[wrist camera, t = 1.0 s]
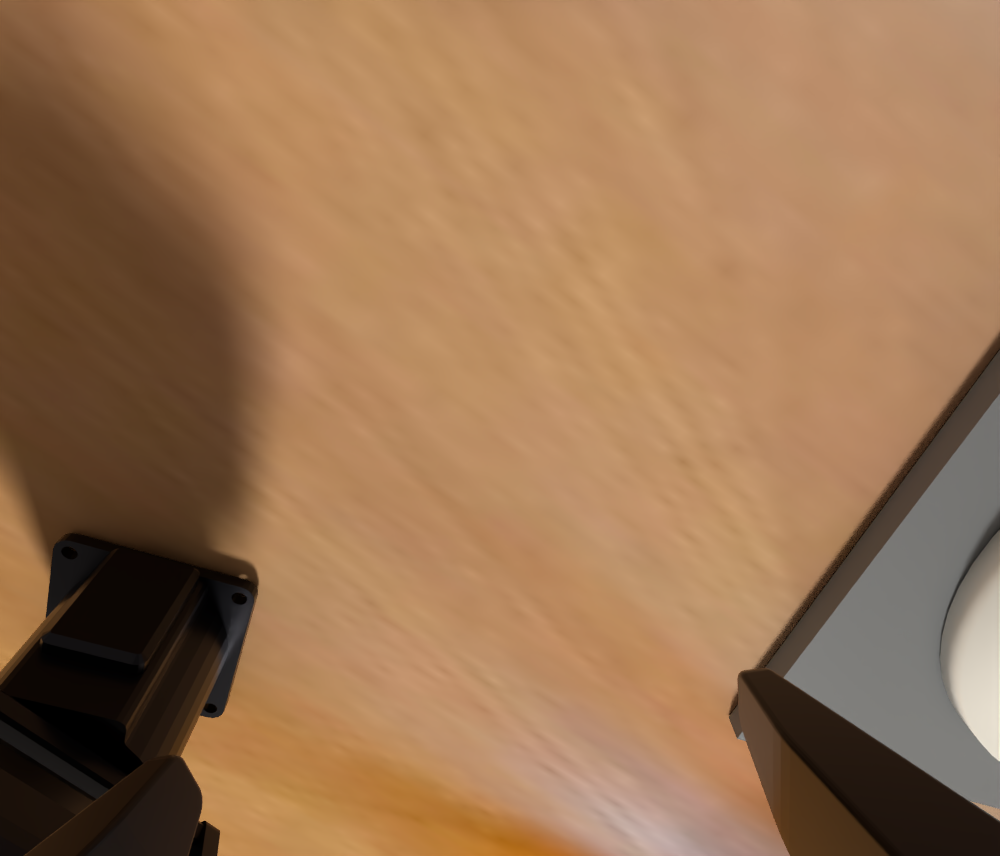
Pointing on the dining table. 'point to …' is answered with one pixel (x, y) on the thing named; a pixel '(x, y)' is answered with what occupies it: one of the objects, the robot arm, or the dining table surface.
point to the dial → (976, 648)
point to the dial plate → (909, 604)
